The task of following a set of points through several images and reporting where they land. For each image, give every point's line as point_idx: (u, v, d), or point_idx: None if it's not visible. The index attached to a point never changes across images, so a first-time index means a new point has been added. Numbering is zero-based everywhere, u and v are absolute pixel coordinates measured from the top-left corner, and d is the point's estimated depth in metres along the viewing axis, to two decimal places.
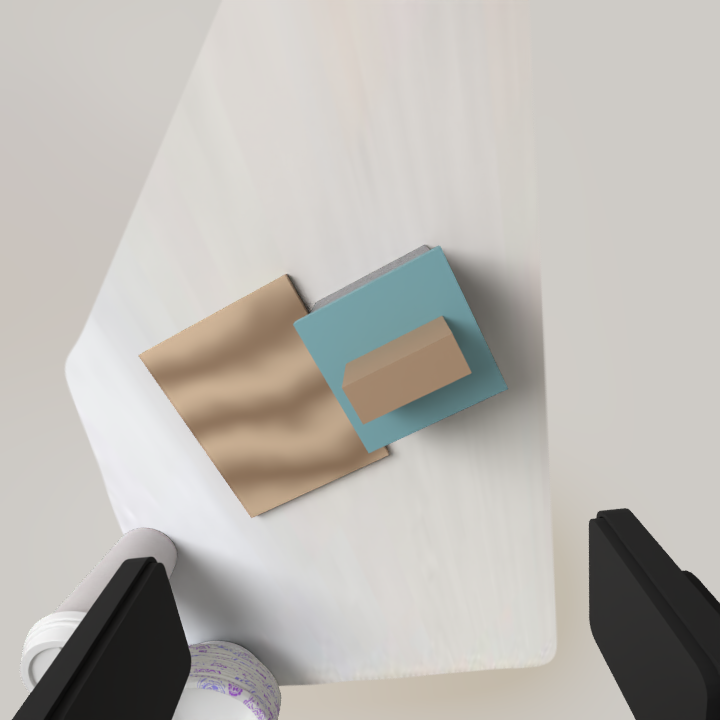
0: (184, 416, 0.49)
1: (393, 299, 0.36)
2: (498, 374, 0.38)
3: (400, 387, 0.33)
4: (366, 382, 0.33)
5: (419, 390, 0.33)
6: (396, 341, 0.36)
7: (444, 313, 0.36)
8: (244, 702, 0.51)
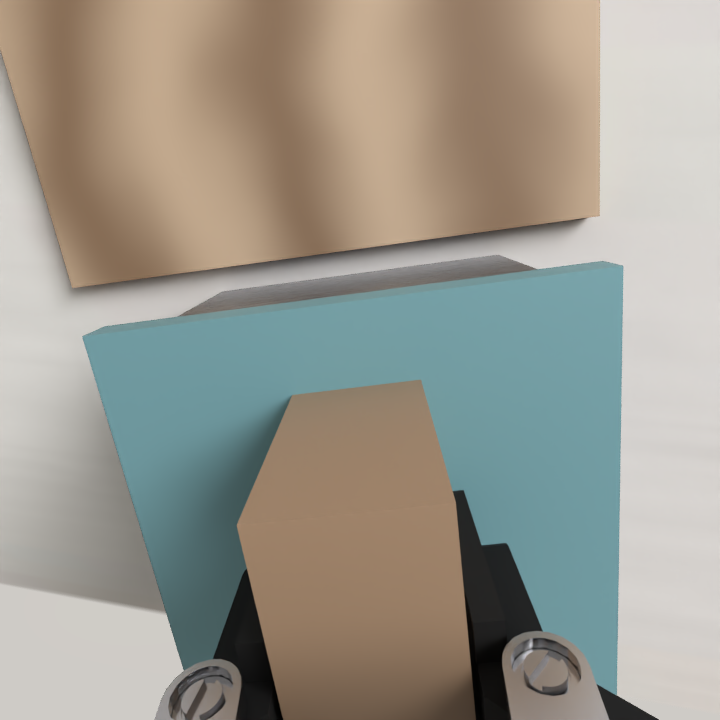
0: None
1: (547, 564, 0.13)
2: None
3: (360, 707, 0.08)
4: (435, 604, 0.07)
5: None
6: None
7: None
8: None
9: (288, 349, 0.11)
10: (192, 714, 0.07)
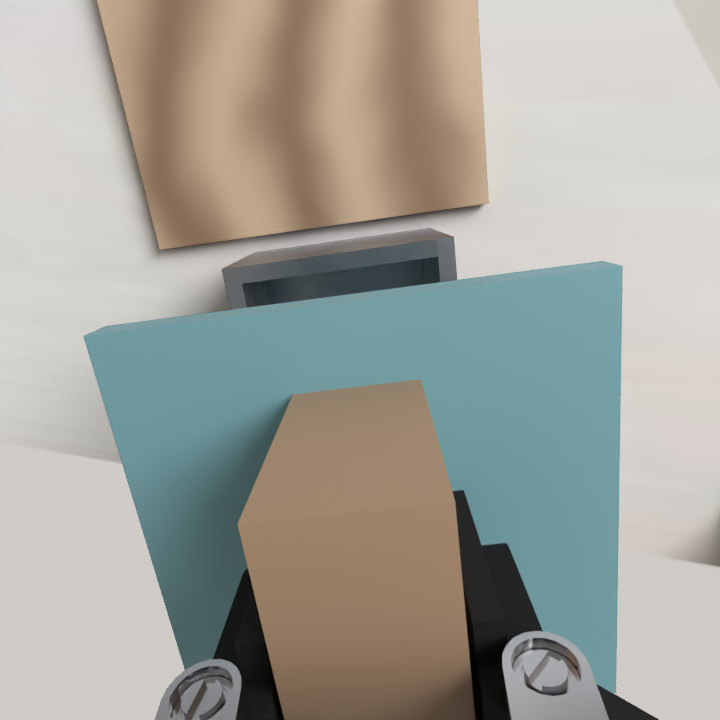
0: None
1: (547, 563, 0.13)
2: None
3: (360, 704, 0.08)
4: (434, 602, 0.07)
5: None
6: None
7: None
8: None
9: (288, 349, 0.11)
10: (192, 714, 0.07)
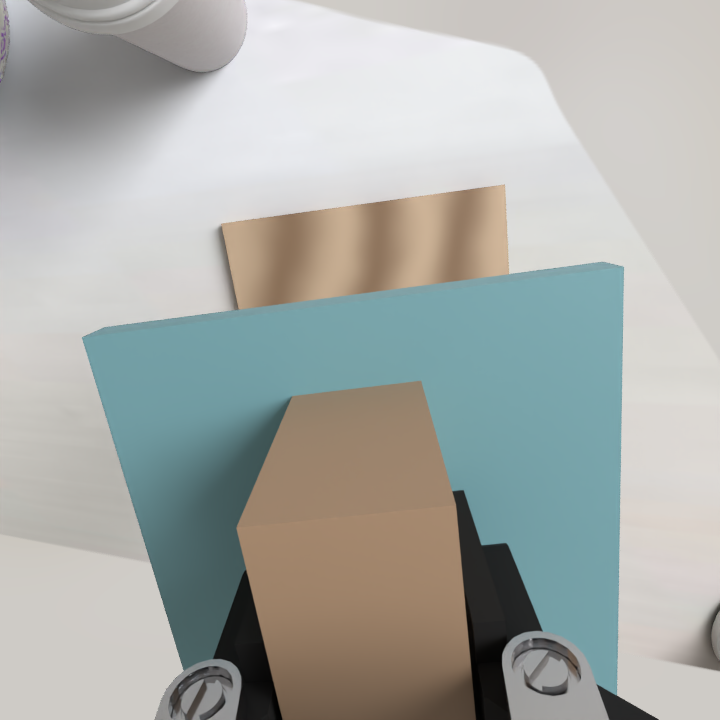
0: (401, 203, 0.35)
1: (547, 565, 0.13)
2: None
3: (360, 709, 0.08)
4: (434, 606, 0.07)
5: None
6: None
7: None
8: None
9: (288, 350, 0.11)
10: (192, 714, 0.07)
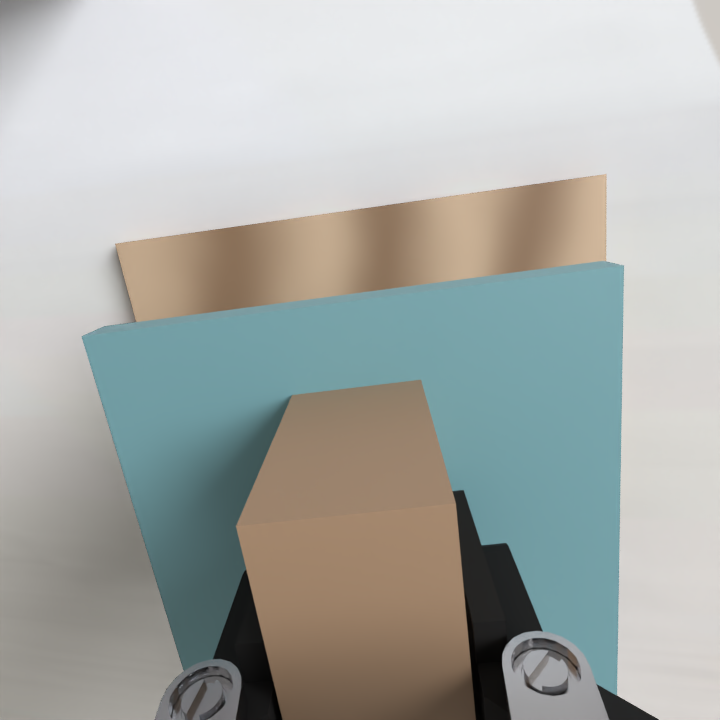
0: (423, 208, 0.20)
1: (547, 565, 0.13)
2: None
3: (360, 708, 0.08)
4: (434, 604, 0.07)
5: None
6: None
7: None
8: None
9: (288, 349, 0.11)
10: (192, 714, 0.07)
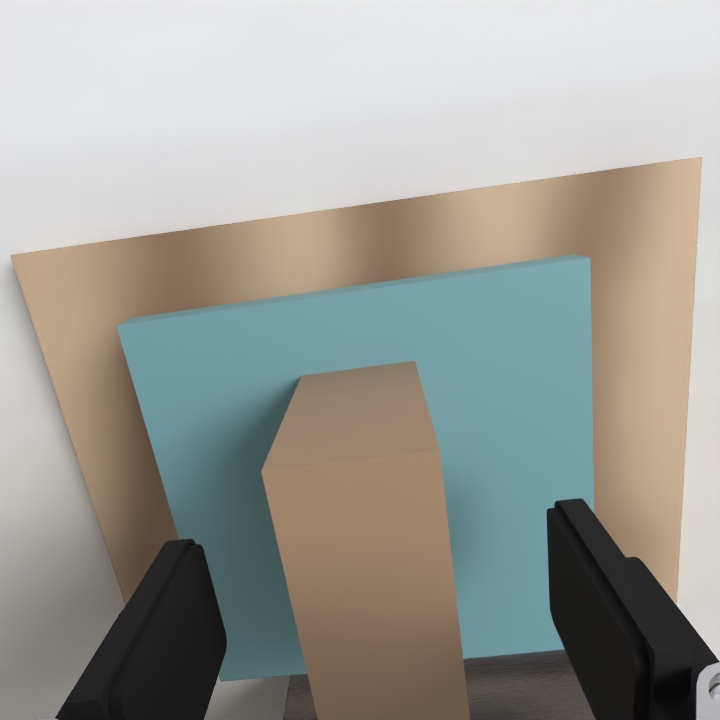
0: (441, 205, 0.14)
1: (530, 526, 0.14)
2: (261, 672, 0.16)
3: (363, 627, 0.09)
4: (424, 536, 0.09)
5: (330, 673, 0.10)
6: None
7: None
8: None
9: (297, 335, 0.13)
10: None
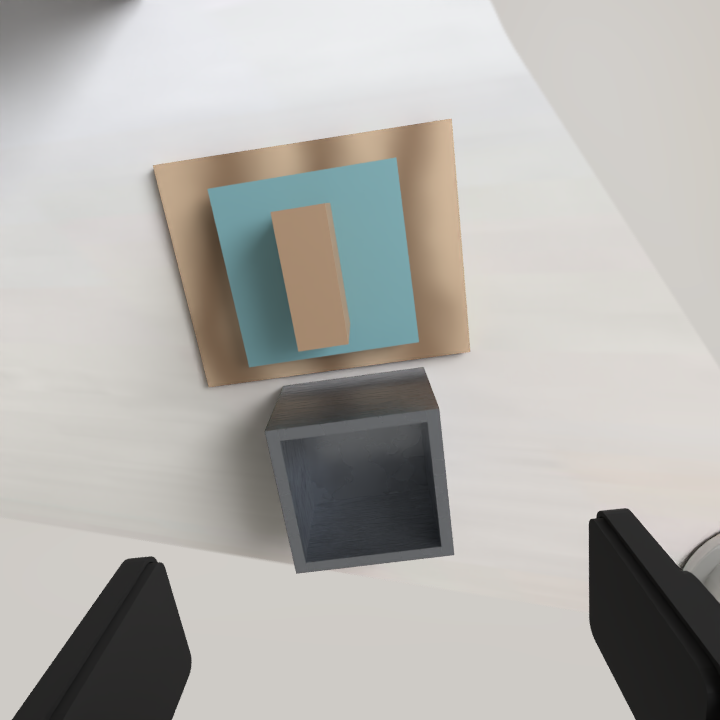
0: (343, 140, 0.33)
1: (384, 280, 0.33)
2: (268, 361, 0.35)
3: (304, 272, 0.28)
4: (322, 235, 0.28)
5: (294, 291, 0.28)
6: (340, 270, 0.32)
7: (351, 327, 0.34)
8: None
9: (281, 191, 0.32)
10: None
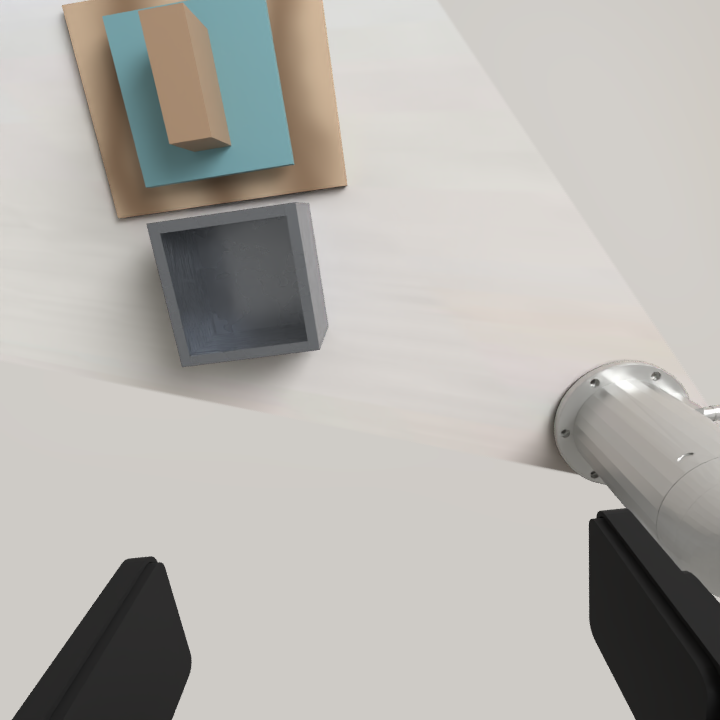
0: None
1: (258, 103, 0.38)
2: (162, 182, 0.40)
3: (170, 67, 0.33)
4: (182, 32, 0.32)
5: (162, 86, 0.33)
6: (217, 90, 0.37)
7: (232, 148, 0.39)
8: None
9: None
10: None
